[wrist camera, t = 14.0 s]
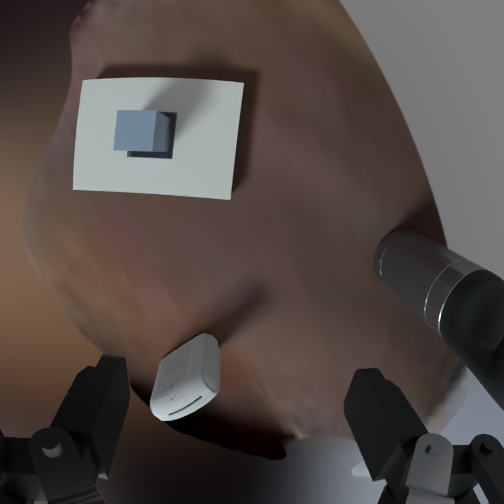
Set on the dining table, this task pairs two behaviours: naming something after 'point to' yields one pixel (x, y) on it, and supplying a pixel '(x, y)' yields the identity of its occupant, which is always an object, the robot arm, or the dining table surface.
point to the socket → (181, 137)
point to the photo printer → (187, 378)
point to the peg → (142, 131)
